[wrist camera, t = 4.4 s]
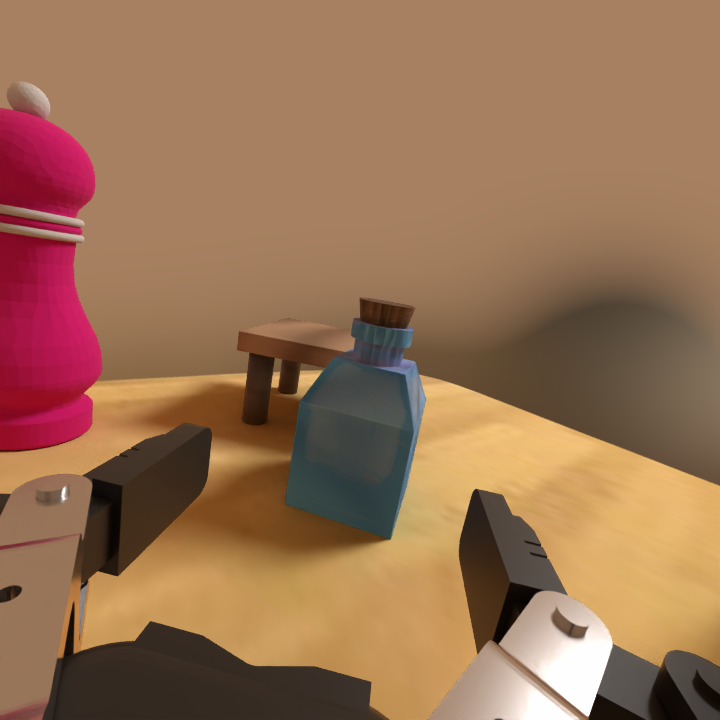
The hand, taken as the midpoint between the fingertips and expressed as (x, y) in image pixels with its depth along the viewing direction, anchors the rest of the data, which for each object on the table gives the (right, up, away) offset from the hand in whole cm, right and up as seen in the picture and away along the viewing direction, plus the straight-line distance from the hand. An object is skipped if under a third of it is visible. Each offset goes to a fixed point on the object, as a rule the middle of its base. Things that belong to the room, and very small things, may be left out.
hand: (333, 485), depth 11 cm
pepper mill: (-20, -1, +13) cm, 24 cm away
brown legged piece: (-3, -1, +24) cm, 25 cm away
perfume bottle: (0, -5, +12) cm, 13 cm away
